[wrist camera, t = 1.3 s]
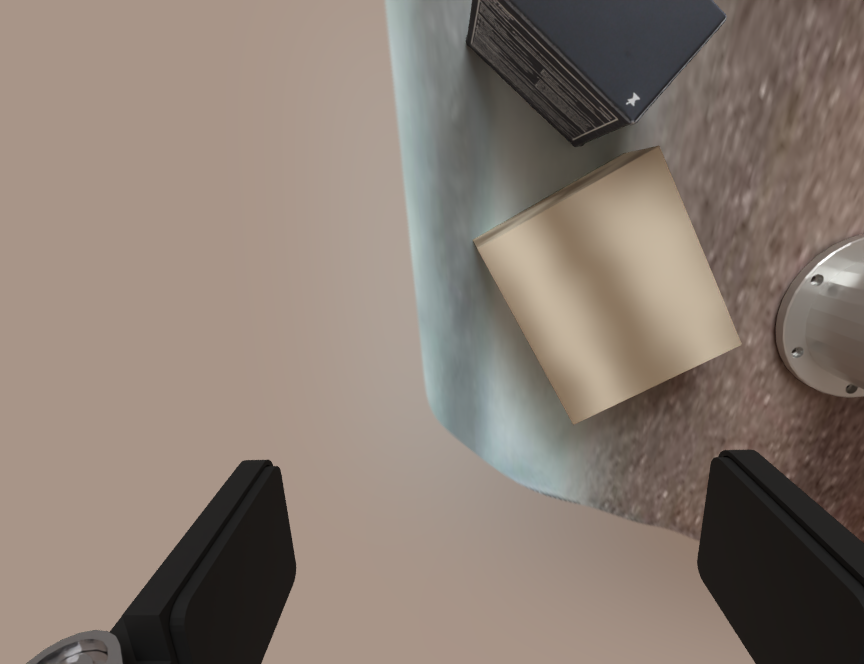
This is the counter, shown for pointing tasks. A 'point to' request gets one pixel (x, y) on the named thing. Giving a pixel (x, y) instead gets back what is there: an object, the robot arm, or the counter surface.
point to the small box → (590, 55)
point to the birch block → (610, 284)
